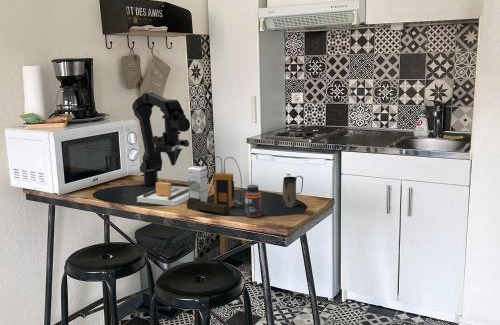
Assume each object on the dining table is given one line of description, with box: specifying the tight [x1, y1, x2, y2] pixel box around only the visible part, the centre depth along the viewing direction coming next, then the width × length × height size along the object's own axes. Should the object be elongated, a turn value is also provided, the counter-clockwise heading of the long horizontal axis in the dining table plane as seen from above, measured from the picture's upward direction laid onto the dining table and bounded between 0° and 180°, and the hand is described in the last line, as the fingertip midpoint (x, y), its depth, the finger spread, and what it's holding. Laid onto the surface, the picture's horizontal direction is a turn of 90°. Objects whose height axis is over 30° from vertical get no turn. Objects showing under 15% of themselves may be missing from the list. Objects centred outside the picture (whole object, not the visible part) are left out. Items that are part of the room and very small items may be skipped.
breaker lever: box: [155, 181, 172, 196], centre depth 208 cm, size 2×6×5 cm, turn 67°
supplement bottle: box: [244, 184, 263, 218], centre depth 185 cm, size 6×6×11 cm
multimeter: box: [206, 155, 245, 209], centre depth 200 cm, size 15×10×20 cm
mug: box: [282, 175, 304, 208], centre depth 198 cm, size 8×6×12 cm
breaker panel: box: [136, 183, 189, 207], centre depth 213 cm, size 22×18×3 cm
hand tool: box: [186, 197, 230, 216], centre depth 193 cm, size 19×4×5 cm, turn 56°
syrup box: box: [187, 165, 209, 202], centre depth 204 cm, size 6×6×14 cm
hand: (173, 165), depth 220 cm, fingers closed
